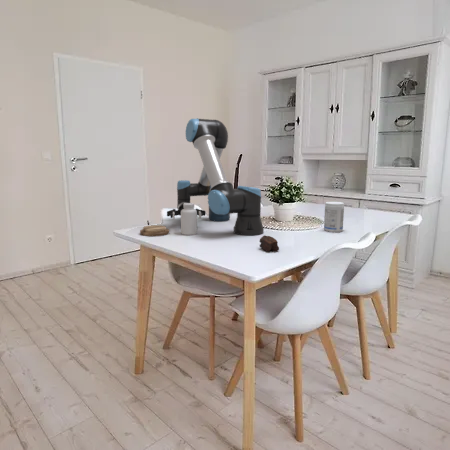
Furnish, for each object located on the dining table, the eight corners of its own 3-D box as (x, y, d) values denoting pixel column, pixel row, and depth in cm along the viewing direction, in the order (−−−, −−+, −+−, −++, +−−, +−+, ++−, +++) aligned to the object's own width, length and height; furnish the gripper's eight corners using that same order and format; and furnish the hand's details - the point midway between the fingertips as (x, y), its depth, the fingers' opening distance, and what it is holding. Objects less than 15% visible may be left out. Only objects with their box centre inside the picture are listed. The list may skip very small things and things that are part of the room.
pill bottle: (190, 236, 178) (190, 205, 175) (177, 234, 182) (177, 203, 180) (200, 233, 185) (200, 203, 182) (187, 231, 189) (187, 202, 186)
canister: (227, 222, 215) (228, 191, 212) (206, 221, 217) (206, 191, 214) (231, 218, 227) (232, 189, 224) (211, 217, 230) (211, 189, 227)
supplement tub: (335, 228, 200) (337, 201, 197) (346, 231, 191) (348, 203, 188) (319, 229, 196) (321, 201, 194) (330, 233, 188) (332, 204, 185)
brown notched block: (281, 239, 149) (265, 231, 157) (269, 248, 147) (254, 239, 155) (284, 250, 153) (268, 242, 160) (272, 259, 150) (257, 250, 158)
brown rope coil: (174, 233, 184) (174, 227, 183) (150, 237, 174) (150, 231, 173) (158, 229, 193) (158, 223, 193) (134, 233, 184) (134, 227, 183)
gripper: (206, 215, 211) (211, 222, 191) (162, 216, 207) (162, 223, 187) (206, 202, 210) (211, 208, 189) (162, 203, 206) (162, 209, 185)
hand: (187, 215), depth 188 cm, fingers open, 13 cm apart
